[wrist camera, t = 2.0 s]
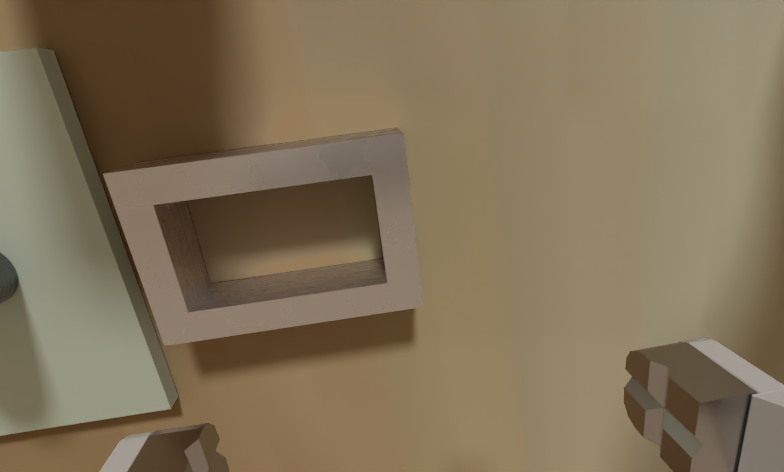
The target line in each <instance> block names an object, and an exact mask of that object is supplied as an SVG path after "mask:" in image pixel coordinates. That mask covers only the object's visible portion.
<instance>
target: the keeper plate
mask: <svg viewBox="0 0 784 472" xmlns="http://www.w3.org/2000/svg"><path fill="white" fill-rule="evenodd" d="M0 253H2V254H3V255H4V256H5V257H7V258H8V259H9V261H10V262H11V263H12V264H13V266H14V267H15V269H16V272H17V275H18V287H17V290H16V292H15V293H14V295H13V296H12V297H10V298H9V299H8V300H6V301H4V302H3V303H1V304H0V436H1V435H8V434H14V433H21V432H27V431H33V430H40V429H46V428H53V427H59V426H65V425H72V424H78V423H85V422H91V421H97V420H104V419H110V418H117V417H123V416H129V415H136V414H142V413H149V412H155V411H161V410H168V409H171V408H172V407H173V405H174V403H175V402H176V400H177V398H178V393H177V391H176V388H175V385H174V382H173V379H172V377H171V374H170V371H169V368H168V366H167V363H166V360H165V357H164V355H163V352H162V349H161V346H160V343H159V341H158V338H157V335H156V332H155V330H154V327H153V324H152V321H151V319H150V316H149V313H148V310H147V307H146V305H145V302H144V299H143V296H142V294H141V291H140V288H139V285H138V283H137V280H136V277H135V274H134V272H133V269H132V266H131V263H130V260H129V258H128V255H127V252H126V249H125V247H124V244H123V241H122V238H121V236H120V233H119V230H118V227H117V224H116V222H115V219H114V216H113V213H112V211H111V208H110V205H109V202H108V200H107V197H106V194H105V191H104V188H103V186H102V183H101V180H100V177H99V175H98V172H97V169H96V166H95V164H94V161H93V158H92V155H91V153H90V150H89V147H88V144H87V141H86V139H85V136H84V133H83V130H82V128H81V125H80V122H79V119H78V117H77V114H76V111H75V108H74V105H73V103H72V100H71V97H70V94H69V92H68V89H67V86H66V83H65V81H64V78H63V75H62V72H61V70H60V67H59V64H58V61H57V58H56V56H55V53H54V50H50V49H43V48H28V49H20V50H12V51H4V52H0Z"/></svg>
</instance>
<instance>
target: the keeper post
mask: <svg viewBox="0 0 784 472" xmlns="http://www.w3.org/2000/svg"><path fill="white" fill-rule="evenodd" d="M17 287H18V275H17V272H16V269H15V267H14V266H13V264H12V263H11V262H10V261H9V259H8V258H7V257H5V256H4V255H3V254H2V253H0V304H1V303H3V302H4V301H6V300H8V299H9V298H10V297H12V296H13V295H14V293H15V292H16V290H17Z"/></svg>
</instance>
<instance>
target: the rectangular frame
mask: <svg viewBox="0 0 784 472" xmlns="http://www.w3.org/2000/svg"><path fill="white" fill-rule="evenodd" d="M368 175H372V181H373V189H374V196H375V203H376V210H377V217H378V224H379V231H380V239H381V246H382V253H383V259H376V260H369V261H362V262H355V263H348V264H342V265H335V266H328V267H321V268H314V269H307V270H300V271H293V272H287V273H280V274H273V275H266V276H259V277H252V278H245V279H238V280H232V281H225V282H218V283H211V284H210V281H209V277H208V274H207V271H206V267H205V264H204V261H203V257H202V254H201V251H200V247H199V244H198V240H197V237H196V234H195V230H194V227H193V224H192V220H191V217H190V213H189V210H188V207H187V203H186V201H187V200H194V199H201V198H208V197H216V196H223V195H230V194H237V193H245V192H252V191H259V190H267V189H274V188H281V187H288V186H296V185H303V184H310V183H317V182H325V181H332V180H339V179H346V178H354V177H361V176H368ZM103 176H104V179H105V181H106V184H107V187H108V190H109V193H110V195H111V198H112V201H113V204H114V207H115V209H116V212H117V215H118V218H119V220H120V223H121V226H122V229H123V232H124V234H125V237H126V240H127V243H128V246H129V248H130V251H131V254H132V257H133V260H134V262H135V265H136V268H137V271H138V274H139V276H140V279H141V282H142V285H143V288H144V290H145V293H146V296H147V299H148V302H149V304H150V307H151V310H152V313H153V316H154V318H155V321H156V324H157V327H158V329H159V332H160V335H161V338H162V341H163V343H164V346H168V345H175V344H182V343H188V342H195V341H202V340H208V339H215V338H222V337H228V336H235V335H241V334H248V333H255V332H261V331H268V330H275V329H281V328H288V327H295V326H301V325H308V324H315V323H321V322H328V321H334V320H341V319H348V318H354V317H361V316H368V315H374V314H381V313H388V312H394V311H401V310H408V309H414V308H421V307H423V302H422V293H421V283H420V274H419V265H418V256H417V247H416V238H415V229H414V220H413V211H412V202H411V193H410V184H409V175H408V165H407V156H406V147H405V138H404V133H403V132H402V131H400V130H399V129H398V128H391V129H383V130H376V131H369V132H361V133H354V134H346V135H339V136H331V137H324V138H316V139H309V140H301V141H294V142H286V143H279V144H271V145H264V146H256V147H249V148H241V149H234V150H226V151H219V152H211V153H204V154H196V155H189V156H181V157H174V158H166V159H159V160H151V161H144V162H139V163H135V164H132V165H129V166H126V167H123V168H120V169H116V170H113V171H110V172H107V173H104V174H103Z"/></svg>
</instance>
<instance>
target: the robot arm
mask: <svg viewBox="0 0 784 472" xmlns="http://www.w3.org/2000/svg"><path fill="white" fill-rule="evenodd" d="M625 369H626V370H627V371H628V373H629V374H630V375H631V376H632V378H631V379H630V381H629V382H628V383H627V385H626V386H625V387H624V404H625V407H626V410H627V414H628V417H629V418H630V420H631V422H632V423H633V425H634V427H635V428H636V429H637V430H638V432H639V433H640V434H641V435H642V436H643V437H644V438H646V439H648V440H650V441H652V442H654V443H656V444H658V445H660V457H661V458H662V459H663V460H664V461H665V462H666V464H667V465H668V466H669V467H670V468H671V469H672V470H673V471H674V472H784V385H783V384H782V383H780V382H778V381H777V380H775V379H774V378H772V377H771V376H769V375H768V374H766V373H765V372H763V371H761V370H760V369H758V368H757V367H755V366H754V365H752V364H751V363H749V362H748V361H746V360H744V359H743V358H741V357H740V356H738V355H737V354H735V353H734V352H732V351H731V350H729V349H727V348H726V347H724V346H723V345H721V344H720V343H718V342H717V341H715V340H713V339H710V338H706V337H701V338H696V339H691V340H686V341H681V342H678V343H674V344H668V345H662V346H657V347H651V348H646V349H640V350H634V351H630V352H629V354H628V356H627V358H626V368H625ZM219 440H220V439H219V436H218V434H217V431H216V428H215V426H214V425H212V424H210V423H206V424H199V425H193V426H186V427H179V428H172V429H166V430H159V431H155V432H148V433H141V434H135V435H129V436H127V437H125V438H124V439H122V440H121V441H120V442H119V443H118V445H117V446H116V448H115V449H114V451H113V452H112V454H111V455H110V457H109V458H108V459H107V461H106V462H105V464H104V465H103V467H102V468H101V470H100V471H99V472H229V467H228V464H227V460H226V458H225V457H224V456H222V455H221V454H219V453H218V452H216V448H217V445H218V443H219Z"/></svg>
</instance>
